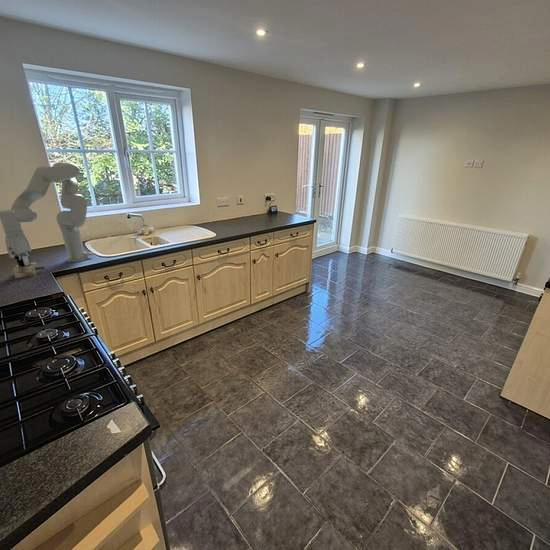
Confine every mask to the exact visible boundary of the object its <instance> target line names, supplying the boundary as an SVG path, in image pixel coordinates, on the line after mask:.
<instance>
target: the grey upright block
mask: <svg viewBox="0 0 550 550" xmlns="http://www.w3.org/2000/svg"><path fill="white" fill-rule="evenodd" d="M17 257H18V255H17ZM21 259H23V262H24V265H25V266H20V268H22V267H30V266H31V265H30V262H31V261H30V262H29V259H30V258H29V259H28V255H27V253H26V252H25V253H22V254H21Z"/></svg>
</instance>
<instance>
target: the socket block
mask: <svg viewBox="0 0 550 550" xmlns="http://www.w3.org/2000/svg"><path fill="white" fill-rule="evenodd" d="M30 265H31V266H30V267H22V268H20V266H18V264H16V265H15V267H13V268H12V272H13V274H14V277H15V279H17V278H24V277H26V278H27V277H32V276H37V274H38V272H39V270H45V269H46V268H45V267H46V266H38V263H37V262H31V264H30Z"/></svg>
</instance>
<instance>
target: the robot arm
mask: <svg viewBox="0 0 550 550" xmlns="http://www.w3.org/2000/svg"><path fill="white" fill-rule="evenodd" d="M79 175H80V168H79V167H78V165H77V164H75V163H73V162H55V163H53V165H52V166H39V167H36V169H35V170H34V172H33V175H32V176H31V179H30V181H29V183H28V185H27V186H26V188H25V189H24V190H23V191H22V192H21V193H20V194H19V195H18V196H17V198H16V199H15V200H14V202H13V203H12V205H11V207H10V209H5V210H0V223H1V225H2V228H3V232H4V234H5V237H4V240H5V241H4V242H5V247H6V250H7V254H8V255H9V256H8V257H9V258H12V259H14V260H16V263H17V265H18V266H25V265H24V262H23V259H21V254H22V253H25V252H26V253H27V255H28V259H29V262H30V264H31V263H32V262H31V260H30V254H31V252H32V250H33V249H32V248H31V246H30V243H29V241H28V238H27V236H26V234H25V233H24V228H23V227H22V224H21V223H31V222H35V221H36V220H37V218H38V215H37V212H36V211H35V210H34V209H32V208H30V207H31V206H32V205H33V203H36V202H37V201H38V200H41V199H42V198H44V197H45V196H46V195H47V194H46V193H47V191H48V189H49V188H50V185H51V183H59V182H60V183H61V194H60V205H61V207H63V208H65V209H69V210H61V211H60V212H58V213H57V214H56V217H55V218H56V222H57V224H58V227H59V228H60V232H61V234H62V235H61V236H62V238H63V243H64V246H65V250H66V253H67V257H66V258H65V260H66V262H68V263H76V262H82V261H86V260H89V256H93V255H94V253H93V252H92V251H89V252H87V251H86V250H85V248H84V245H83V239H82V236H81V231H80V229H79V228H81V227H83V226H84V225H85V223H86V220H87V219H86V218H87V213H88V212H87V210H88V202H87V199H86V198H85V196H84V195H82V194H79V183H78V180H77V179H76V178H77V177H79ZM17 255H18V257H17Z"/></svg>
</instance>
